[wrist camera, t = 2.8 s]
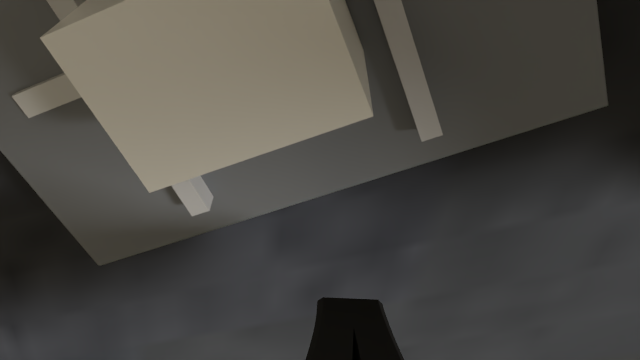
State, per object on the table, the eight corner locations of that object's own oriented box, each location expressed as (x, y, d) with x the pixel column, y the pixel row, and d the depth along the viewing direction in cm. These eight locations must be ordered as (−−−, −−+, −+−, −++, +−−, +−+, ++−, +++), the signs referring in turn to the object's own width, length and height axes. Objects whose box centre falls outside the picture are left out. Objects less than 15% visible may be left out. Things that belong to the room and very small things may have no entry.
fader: (363, 50, 12) (373, 116, 9) (184, 117, 13) (149, 192, 10) (306, -105, 10) (299, -76, 8) (104, -15, 11) (39, 37, 8)
